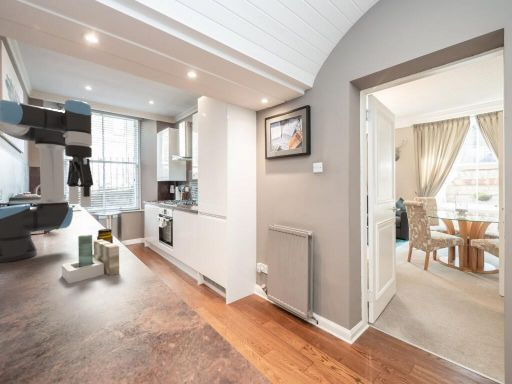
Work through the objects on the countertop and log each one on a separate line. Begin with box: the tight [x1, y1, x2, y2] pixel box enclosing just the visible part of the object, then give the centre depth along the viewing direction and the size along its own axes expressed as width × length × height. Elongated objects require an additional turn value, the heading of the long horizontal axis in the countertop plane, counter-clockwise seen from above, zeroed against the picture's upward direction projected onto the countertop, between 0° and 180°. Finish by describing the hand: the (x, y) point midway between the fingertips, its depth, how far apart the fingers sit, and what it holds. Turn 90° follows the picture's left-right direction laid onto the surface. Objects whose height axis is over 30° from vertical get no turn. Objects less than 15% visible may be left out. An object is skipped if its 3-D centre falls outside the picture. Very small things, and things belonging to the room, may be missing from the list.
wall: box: [93, 239, 120, 277], centre depth 88 cm, size 17×3×10 cm, turn 51°
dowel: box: [77, 234, 93, 267], centre depth 82 cm, size 4×4×14 cm
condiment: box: [92, 228, 114, 258], centre depth 105 cm, size 7×8×12 cm
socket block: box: [61, 258, 105, 284], centre depth 82 cm, size 10×10×4 cm
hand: (79, 205), depth 83 cm, fingers open, 13 cm apart
